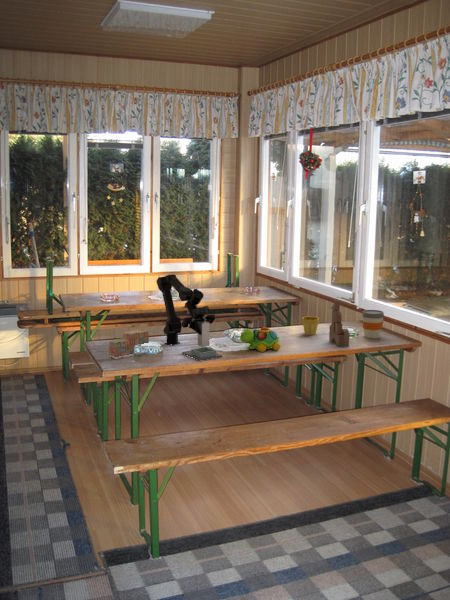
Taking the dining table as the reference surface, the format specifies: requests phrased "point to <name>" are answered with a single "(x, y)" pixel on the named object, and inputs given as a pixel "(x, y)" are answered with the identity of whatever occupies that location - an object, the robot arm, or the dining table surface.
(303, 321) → the plant pot
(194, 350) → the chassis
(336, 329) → the wooden toy
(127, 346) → the stack of blocks
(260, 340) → the turtle toy
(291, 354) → the dining table surface
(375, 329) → the reusable coffee cup
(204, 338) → the light grey rectangular block
